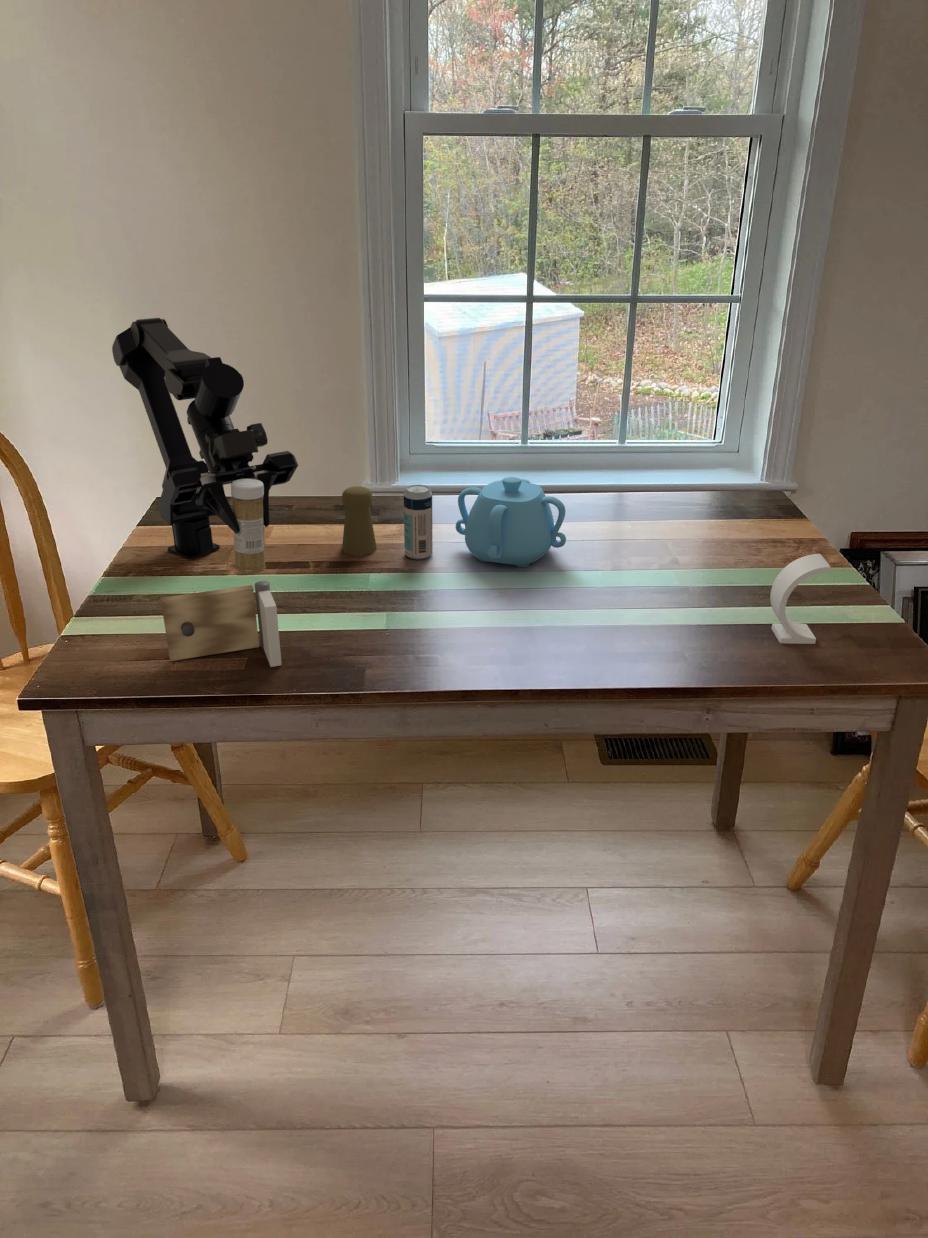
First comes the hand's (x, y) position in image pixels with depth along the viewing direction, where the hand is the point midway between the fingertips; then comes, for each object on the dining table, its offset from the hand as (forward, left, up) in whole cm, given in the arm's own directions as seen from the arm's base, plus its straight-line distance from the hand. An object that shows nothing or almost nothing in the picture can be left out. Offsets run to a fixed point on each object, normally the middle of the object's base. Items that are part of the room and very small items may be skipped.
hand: (252, 528), depth 136 cm
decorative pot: (+18, +41, -13) cm, 47 cm away
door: (+6, -13, -13) cm, 19 cm away
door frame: (+11, -8, -13) cm, 19 cm away
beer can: (+6, +31, -13) cm, 34 cm away
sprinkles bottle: (-2, 0, -7) cm, 7 cm away
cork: (-4, +27, -13) cm, 30 cm away
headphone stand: (+67, +41, -13) cm, 79 cm away
